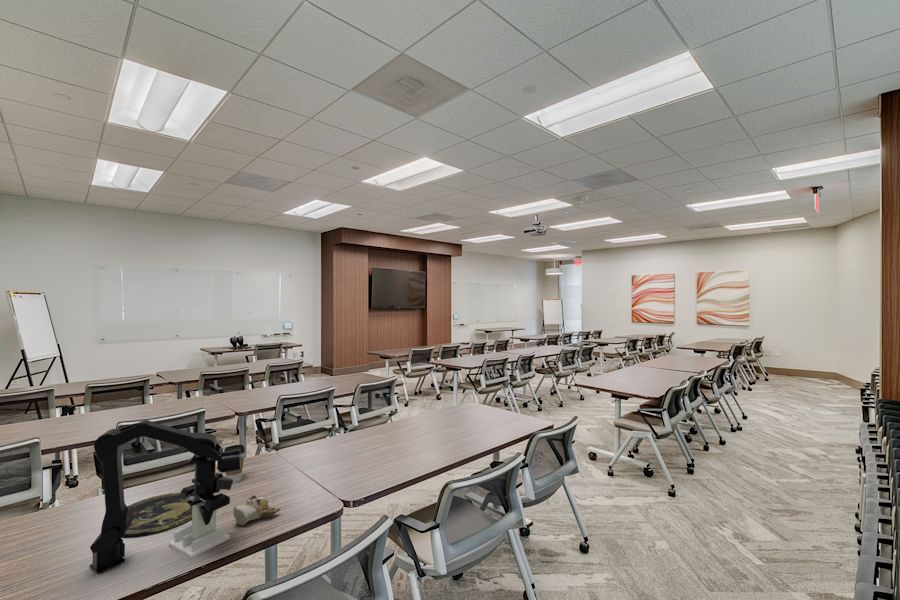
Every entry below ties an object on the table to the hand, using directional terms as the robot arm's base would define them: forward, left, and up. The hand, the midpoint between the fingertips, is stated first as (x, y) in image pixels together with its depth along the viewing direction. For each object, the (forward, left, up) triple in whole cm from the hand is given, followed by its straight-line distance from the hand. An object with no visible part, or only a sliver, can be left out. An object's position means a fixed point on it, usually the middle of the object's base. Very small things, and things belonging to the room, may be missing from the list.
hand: (204, 523), depth 127 cm
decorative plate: (+2, +33, -8) cm, 34 cm away
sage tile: (0, 0, -4) cm, 4 cm away
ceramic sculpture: (+18, 0, -7) cm, 19 cm away
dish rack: (0, +3, -7) cm, 7 cm away
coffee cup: (+33, +38, -7) cm, 51 cm away
